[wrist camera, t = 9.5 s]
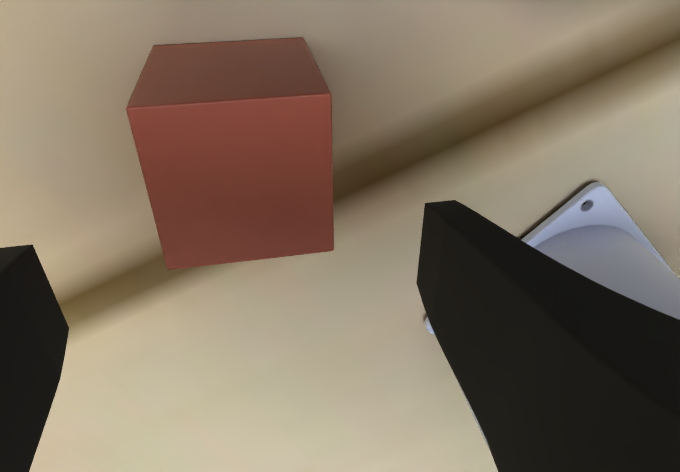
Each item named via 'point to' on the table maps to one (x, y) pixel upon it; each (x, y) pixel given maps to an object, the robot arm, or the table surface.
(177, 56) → the block
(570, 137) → the table surface
